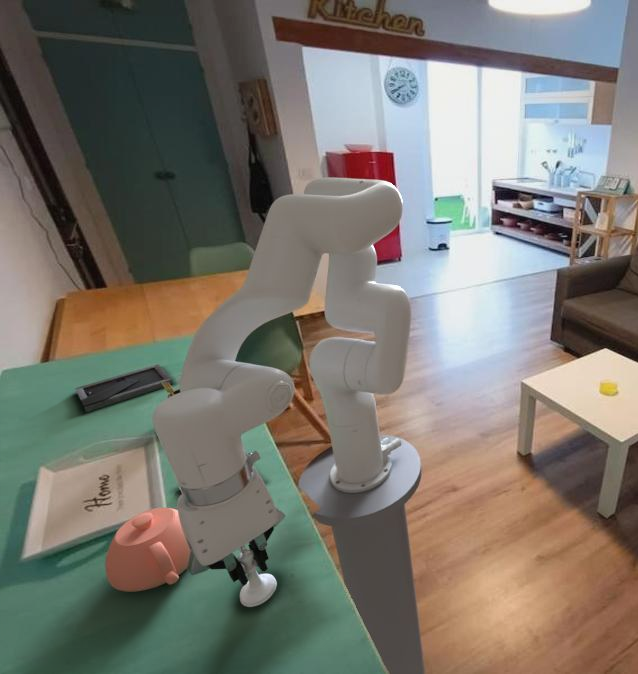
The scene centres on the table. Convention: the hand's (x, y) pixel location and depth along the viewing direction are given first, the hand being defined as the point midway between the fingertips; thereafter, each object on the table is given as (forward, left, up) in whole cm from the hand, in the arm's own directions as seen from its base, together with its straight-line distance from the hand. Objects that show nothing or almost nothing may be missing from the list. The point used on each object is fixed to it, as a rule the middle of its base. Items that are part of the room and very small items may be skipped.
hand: (251, 571), depth 62 cm
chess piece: (0, 0, -5) cm, 5 cm away
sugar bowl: (+7, -16, -5) cm, 18 cm away
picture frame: (-3, -87, -5) cm, 87 cm away
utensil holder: (-9, -59, -5) cm, 60 cm away
